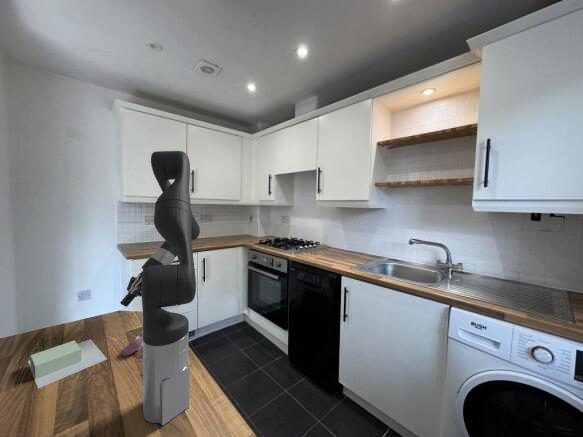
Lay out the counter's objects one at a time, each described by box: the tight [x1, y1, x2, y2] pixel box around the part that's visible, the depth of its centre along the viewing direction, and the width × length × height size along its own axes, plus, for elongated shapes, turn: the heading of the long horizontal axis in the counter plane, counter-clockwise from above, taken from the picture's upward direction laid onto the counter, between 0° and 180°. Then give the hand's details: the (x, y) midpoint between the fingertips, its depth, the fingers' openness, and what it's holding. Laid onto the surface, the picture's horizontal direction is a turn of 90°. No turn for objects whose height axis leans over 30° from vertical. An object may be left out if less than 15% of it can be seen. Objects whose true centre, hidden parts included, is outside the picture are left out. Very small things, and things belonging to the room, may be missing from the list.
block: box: [29, 340, 81, 380], centre depth 66 cm, size 7×4×9 cm
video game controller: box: [121, 329, 143, 356], centre depth 75 cm, size 10×5×7 cm, turn 0°
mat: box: [27, 339, 108, 389], centre depth 68 cm, size 16×14×1 cm
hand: (123, 305), depth 79 cm, fingers closed
